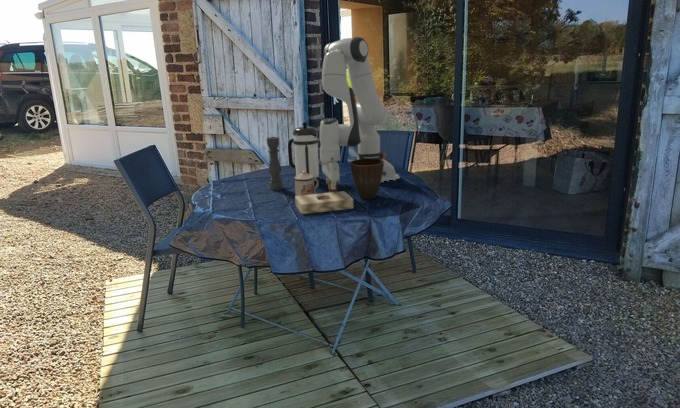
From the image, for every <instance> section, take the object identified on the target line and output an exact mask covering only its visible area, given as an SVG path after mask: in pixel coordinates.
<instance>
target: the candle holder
mask: <svg viewBox="0 0 680 408" xmlns="http://www.w3.org/2000/svg"><path fill="white" fill-rule="evenodd" d="M266 145H267V147H268V153H269V165H268V173H269V174H270V176H271V177H270V179H269V189H270V190H272V191H279V190H283V189H284V186H283V181H282V180H283V179H282V177H281V176H280V175H281V172H282V166H281V164H280V160H279V152H280V150H279V145H280V139H279V136H267V137H266Z"/></svg>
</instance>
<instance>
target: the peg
mask: <svg viewBox="0 0 680 408" xmlns="http://www.w3.org/2000/svg"><path fill="white" fill-rule="evenodd" d="M327 188H328V193H330V192H338V181H336V189H335V190H332V189H331V180H330V179H329V178H328V186H327Z"/></svg>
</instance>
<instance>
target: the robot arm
mask: <svg viewBox="0 0 680 408" xmlns="http://www.w3.org/2000/svg"><path fill="white" fill-rule="evenodd" d="M368 55H369V45H368V42H367V41H366V40H365V38H364V37H361V36H355V37H346V38H342V39H339V40H336V41H331V42H329V43H327V44H326V45H325V46H324V49H323V61H322V70H321V84H322V89H323V91H324V92H325V93H326V94H327V95H329V96H330V97H332V98H335V99H338V100H340V101H343V102H344V104H346V106H347V113H348V118H349V119H348V120H349V123H347V124H343V123H341V124H339V121H338V119H337V118H334V117H328V118H324V119H322V120H320V126H319V130H318V131H319V132H318V135H319V136H318V138H319V139H318V141H319V142H320V147H319V158H320V159H319V161H320V162H321V163H320V165H321V171H322V173H323V174H324V175H325V182H326V185H328V178H329V179H330V180H331V189H332V190H335V189H336V181H337V182H339V181H340V180H341V179H340V177H341V175H340V165H339V162H338V161H341V148H340V147H351V148H356V147H357V156H356V160H358V159H380V160H383V161H384V166H383V173H382V178H381V183H385V182H384V181H387V182H390V181H389V180H393V181H397V180H396V179H399V178H400V175H399V174H398V173H396V170H395V167H394V166H393V164H391V163H390V162H389V161H387V160H386V159H384V158H387V153H385V152H382V151H381V136H380V135H379V133H378V131H377V129H376V126H381V125H384V124H386V122H387V120H388V117H389V111H388V109H387V107H385V105H384V104H383V103H382V100H381V99H380V96H379V94H378V92H377V89H376V86H375V81H374V76H373V71H372V67H371V66H372V65H371V62H370V59H369V57H368ZM347 68H348V69H347ZM347 70H348V76H349V81H350V85H349V83H348V79H347ZM350 86H351V87H350ZM356 100H357V101H356ZM399 180H400V179H399Z"/></svg>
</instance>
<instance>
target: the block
mask: <svg viewBox="0 0 680 408" xmlns="http://www.w3.org/2000/svg"><path fill="white" fill-rule="evenodd" d="M294 200H295V201H294V202H295V205H294V206H295V207H296V208H297V209H298V211H299V213H300V214H301V215H305V214H315V213H323V212H331V211H332V212H333V211H341V210H343V211H344V210H350V209H351V210H352V209H354V198H352V197H351V196H350V194H348V193H347V192H346V191H345V190H342V191H337V192H330V193H329V192H323V193H322V192H321V193H314V194H310V195H300V196H296V195H295V196H294Z"/></svg>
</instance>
